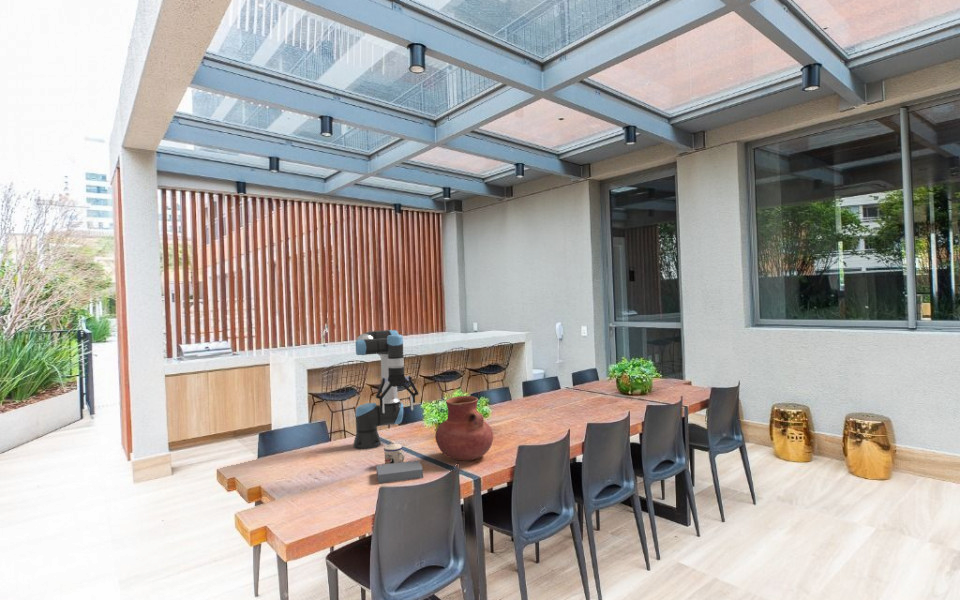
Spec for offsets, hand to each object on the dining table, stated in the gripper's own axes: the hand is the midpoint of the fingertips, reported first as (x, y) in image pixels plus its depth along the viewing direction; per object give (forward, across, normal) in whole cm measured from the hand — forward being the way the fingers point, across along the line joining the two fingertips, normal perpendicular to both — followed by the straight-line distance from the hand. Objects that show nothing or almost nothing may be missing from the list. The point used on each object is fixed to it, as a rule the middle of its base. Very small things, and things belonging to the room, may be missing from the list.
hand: (398, 411), depth 240 cm
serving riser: (+28, -1, -9) cm, 29 cm away
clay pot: (+28, +34, +6) cm, 44 cm away
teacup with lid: (+28, -2, +7) cm, 29 cm away
